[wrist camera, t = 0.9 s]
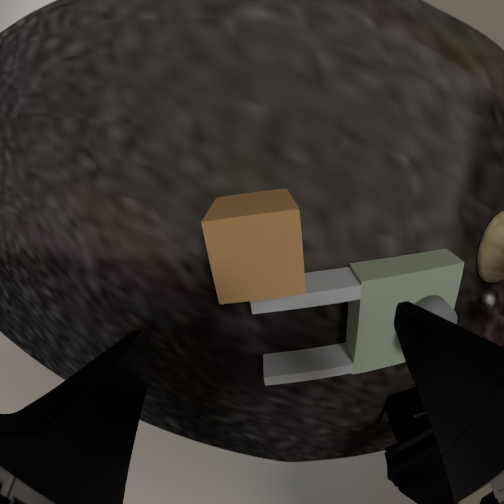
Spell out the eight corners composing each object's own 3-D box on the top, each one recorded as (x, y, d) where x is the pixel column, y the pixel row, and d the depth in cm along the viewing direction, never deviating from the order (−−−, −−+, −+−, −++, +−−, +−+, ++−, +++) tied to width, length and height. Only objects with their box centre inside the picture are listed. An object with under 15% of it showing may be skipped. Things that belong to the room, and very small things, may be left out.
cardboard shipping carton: (292, 252, 21) (305, 294, 16) (228, 261, 22) (219, 304, 16) (286, 188, 19) (299, 209, 14) (216, 197, 20) (201, 222, 14)
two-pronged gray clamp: (446, 248, 21) (477, 273, 16) (428, 333, 25) (449, 363, 20) (250, 276, 22) (248, 313, 17) (264, 364, 26) (266, 404, 21)
